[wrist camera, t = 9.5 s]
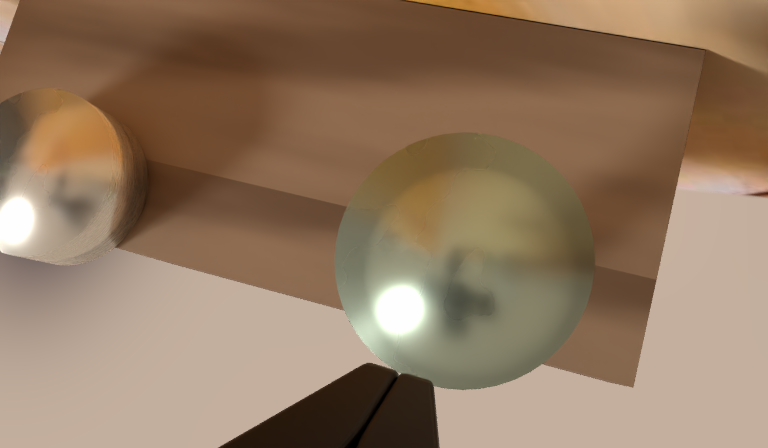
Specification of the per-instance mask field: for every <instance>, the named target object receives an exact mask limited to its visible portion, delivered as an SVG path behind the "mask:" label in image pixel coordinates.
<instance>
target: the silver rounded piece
mask: <svg viewBox="0 0 768 448" xmlns="http://www.w3.org/2000/svg"><path fill="white" fill-rule="evenodd" d="M147 189H148V166H147V161H146V157H145V154H144V151H143V149H142V146H141V144H140V143H139V141H138V139H137V137H136V136H135V135H134V134H133V132H132V131H131V130H130V129H129V128H128V127H127V126H126V125H124V124H123V123H122V122H120V121H119V120H117V119H116V118H114V117H112V116H111V115H109V114H107V113H106V112H104V111H102V110H101V109H99V108H97V107H96V106H94V105H93V104H91V103H89V102H88V101H86V100H84V99H83V98H81V97H79V96H77V95H75V94H73V93H71V92H68V91H64V90H60V89H53V88H41V89H33V90H29V91H25V92H22V93H19V94H17V95H15V96H12V97H10V98H9V99H7V100H5V101H3V102H2V103H1V104H0V252H2V253H5V254H9V255H14V256H19V257H24V258H28V259H33V260H37V261H42V262H47V263H52V264H57V265H77V264H82V263H86V262H89V261H92V260H94V259H97V258H99V257H101V256H102V255H104V254H106V253H108V252H109V251H110V250H112V249H113V248H115V247H116V246H117V245H118V244H119V243H120V242H121V241H122V240H123V239H124V238H125V237H126V236H127V235H128V233H129V232H130V231H131V229H132V228H133V226H134V225H135V223H136V222H137V220H138V218H139V216H140V214H141V211H142V209H143V206H144V203H145V199H146V196H147Z"/></svg>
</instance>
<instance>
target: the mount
mask: <svg viewBox="0 0 768 448" xmlns="http://www.w3.org/2000/svg"><path fill="white" fill-rule="evenodd" d="M705 52H706V50H700V49H694V48H688V47H682V46H675V45H669V44H663V43H657V42H651V41H645V40H639V39H633V38H627V37H621V36H614V35H608V34H602V33H596V32H590V31H584V30H578V29H572V28H566V27H559V26H553V25H547V24H541V23H535V22H529V21H523V20H517V19H511V18H505V17H498V16H492V15H486V14H480V13H474V12H468V11H462V10H456V9H450V8H443V7H437V6H431V5H425V4H419V3H413V2H407V1H401V0H20V2H19V5H18V7H17V10H16V13H15V16H14V18H13V21H12V24H11V27H10V30H9V32H8V35H7V38H6V41H5V43H4V46H3V49H2V52H1V54H0V104H1V103H2V102H3V101H5V100H7V99H9V98H10V97H12V96H15V95H17V94H19V93H22V92H25V91H29V90H33V89H41V88H53V89H60V90H64V91H68V92H71V93H73V94H75V95H77V96H79V97H81V98H83V99H84V100H86V101H88V102H89V103H91V104H93V105H94V106H96V107H97V108H99V109H101V110H102V111H104V112H106V113H107V114H109V115H111V116H112V117H114V118H116V119H117V120H119V121H120V122H122V123H123V124H124V125H126V126H127V127H128V128H129V129H130V130H131V131H132V132H133V134H134V135H135V136H136V137H137V139H138V141H139V143H140V144H141V146H142V149H143V151H144V154H145V157H146V161H147V166H148V189H147V196H146V199H145V203H144V206H143V209H142V211H141V214H140V216H139V218H138V220H137V222H136V223H135V225H134V226H133V228H132V229H131V231H130V232H129V233H128V235H127V236H126V237H125V238H124V239H123V240H122V241H121V242H120V243H119V244H118V245H117V246H116V247H115V248H119V249H122V250H126V251H129V252H133V253H136V254H140V255H144V256H147V257H150V258H154V259H157V260H161V261H165V262H168V263H171V264H175V265H178V266H182V267H186V268H189V269H193V270H197V271H201V272H204V273H208V274H212V275H215V276H219V277H223V278H226V279H230V280H234V281H237V282H241V283H245V284H248V285H253V286H256V287H260V288H263V289H267V290H271V291H274V292H278V293H282V294H286V295H289V296H293V297H297V298H300V299H304V300H307V301H311V302H315V303H319V304H322V305H326V306H330V307H333V308H337V309H341V310H344V309H343V306H342V303H341V300H340V296H339V293H338V289H337V283H336V277H335V260H334V259H335V247H336V240H337V235H338V231H339V226H340V224H341V221H342V218H343V215H344V212H345V210H346V208H347V206H348V204H349V202H350V200H351V198H352V196H353V195H354V193H355V192H356V190H357V189H358V187H359V186H360V184H361V183H362V182H363V181H364V180H365V179H366V177H367V176H368V175H369V174H370V173H371V172H372V171H373V170H374V169H375V168H376V167H377V166H378V165H379V164H381V163H382V162H383V161H384V160H385V159H387V158H388V157H390V156H391V155H393V154H394V153H396V152H397V151H399V150H401V149H403V148H405V147H406V146H408V145H410V144H413V143H415V142H418V141H421V140H423V139H426V138H430V137H434V136H438V135H442V134H450V133H481V134H488V135H493V136H497V137H501V138H504V139H508V140H510V141H513V142H515V143H518V144H520V145H523V146H524V147H526V148H528V149H530V150H531V151H533V152H535V153H537V154H538V155H539V156H541V157H542V158H543V159H545V160H546V161H547V162H549V163H550V164H551V165H552V166H553V167H554V168H555V169H556V170H557V171H558V172H559V173H560V174H561V175H562V176H563V177H564V178H565V179H566V181H567V182H568V183H569V185H570V186H571V187H572V188H573V190H574V192H575V193H576V195H577V197H578V198H579V200H580V202H581V204H582V206H583V208H584V211H585V213H586V216H587V218H588V221H589V225H590V228H591V232H592V236H593V244H594V252H595V268H594V277H593V284H592V289H591V293H590V296H589V299H588V303H587V306H586V308H585V310H584V312H583V315H582V317H581V319H580V321H579V323H578V324H577V326H576V328H575V329H574V331H573V332H572V334H571V335H570V337H569V338H568V339H567V340H566V342H565V343H564V344H563V345H562V346H561V347H560V349H559V350H558V351H557V352H556V353H554V354H553V355H552V356H551V357H550V358H549V359H548V360H547V361H545V362H544V363H543V364H544V365H547V366H551V367H555V368H558V369H562V370H566V371H570V372H573V373H577V374H581V375H584V376H588V377H592V378H595V379H599V380H603V381H606V382H610V383H615V384H619V385H624V386H629V387H633V386H634V382H635V377H636V372H637V367H638V363H639V358H640V354H641V349H642V344H643V340H644V335H645V330H646V326H647V321H648V316H649V312H650V307H651V303H652V298H653V293H654V289H655V284H656V279H657V275H658V270H659V265H660V261H661V255H662V251H663V247H664V242H665V237H666V233H667V228H668V224H669V219H670V214H671V209H672V205H673V200H674V196H675V191H676V186H677V182H678V177H679V172H680V168H681V163H682V158H683V154H684V149H685V145H686V140H687V135H688V131H689V126H690V121H691V117H692V112H693V107H694V103H695V98H696V93H697V89H698V84H699V79H700V75H701V70H702V66H703V61H704V56H705Z"/></svg>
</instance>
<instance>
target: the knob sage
mask: <svg viewBox="0 0 768 448" xmlns="http://www.w3.org/2000/svg"><path fill="white" fill-rule="evenodd" d="M334 260H335V277H336V283H337V289H338V293H339V296H340V300H341V303H342V306H343V309H344V311H345V312H346V315H347V317H348V319H349V322H350V323H351V325H352V327H353V328H354V330H355V331H356V333H357V334H358V336H359V337H360V339H361V340H362V341H363V342H364V343H365V344H366V346H367V347H368V348H369V349H370V350H371V351H372V352H373V353H374V354H375V355H376V356H377V357H378V358H379V359H380V360H382V361H383V362H384V363H386V364H387V365H389V366H391V368H393V369H394V370H396V371H397V372H399V373H401V374H402V373H408V374H411V375H414V376H418V377H421V378H425V379H428V380H430V381H431V382H432V383H433V386H437V387H441V388H447V389H460V390H466V389H481V388H486V387H492V386H497V385H500V384H503V383H506V382H509V381H512V380H515V379H517V378H519V377H521V376H523V375H525V374H527V373H529V372H531V371H532V370H534V369H535V368H537V367H538V366H540V365H541V364H543V363H544V362H545V361H547V360H548V359H549V358H550V357H551V356H552V355H553V354H554V353H556V352H557V351H558V350H559V349H560V347H561V346H562V345H563V344H564V343H565V342H566V340H567V339H568V338H569V337H570V335H571V334H572V332H573V331H574V329H575V328H576V326H577V324H578V323H579V321H580V319H581V317H582V315H583V312H584V310H585V308H586V306H587V303H588V299H589V296H590V293H591V289H592V284H593V277H594V268H595V252H594V244H593V236H592V232H591V228H590V225H589V221H588V218H587V216H586V213H585V211H584V208H583V206H582V204H581V202H580V200H579V198H578V197H577V195H576V193H575V192H574V190H573V188H572V187H571V186H570V185H569V183H568V182H567V181H566V179H565V178H564V177H563V176H562V175H561V174H560V173H559V172H558V171H557V170H556V169H555V168H554V167H553V166H552V165H551V164H550V163H549V162H547V161H546V160H545V159H543V158H542V157H541V156H539V155H538V154H537V153H535V152H533V151H531V150H530V149H528V148H526V147H524V146H523V145H520V144H518V143H515V142H513V141H510V140H508V139H504V138H501V137H497V136H493V135H488V134H481V133H450V134H442V135H438V136H434V137H430V138H426V139H423V140H421V141H418V142H415V143H413V144H410V145H408V146H406V147H405V148H403V149H401V150H399V151H397V152H396V153H394V154H393V155H391V156H390V157H388V158H387V159H385V160H384V161H383V162H382V163H381V164H379V165H378V166H377V167H376V168H375V169H374V170H373V171H372V172H371V173H370V174H369V175H368V176H367V177H366V179H365V180H364V181H363V182H362V183H361V184H360V186H359V187H358V189H357V190H356V192H355V193H354V195H353V196H352V198H351V200H350V202H349V204H348V206H347V208H346V210H345V212H344V215H343V218H342V221H341V224H340V226H339V231H338V235H337V240H336V247H335V259H334Z"/></svg>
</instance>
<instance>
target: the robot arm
mask: <svg viewBox="0 0 768 448" xmlns="http://www.w3.org/2000/svg"><path fill="white" fill-rule="evenodd" d="M219 448H440V447H439V437H438V427H437V416H436V407H435V395H434V387H433V383H432V382H431V381H430V380H428V379H425V378H421V377H418V376H414V375H411V374H408V373H402V374H400V375H398V373H397V371H396V370H394V369H390V368H387V367H383V366H380V365H376V364H373V363H366V364H363V365H362V366H360V367H358V368H356V369H354V370H353V371H351V372H349V373H347V374H346V375H344V376H342V377H340V378H339V379H337V380H335V381H333V382H332V383H330V384H328V385H327V386H325V387H323V388H321V389H320V390H318V391H316V392H314V393H313V394H311V395H309V396H307V397H306V398H304V399H302V400H300V401H299V402H297V403H295V404H293V405H292V406H290V407H288V408H286V409H285V410H283V411H281V412H279V413H278V414H276V415H275V416H273V417H271V418H269V419H267V420H266V421H264V422H262V423H260V424H259V425H257V426H255V427H253V428H252V429H250V430H248V431H246V432H245V433H243V434H241V435H239V436H238V437H236V438H234V439H233V440H231V441H229V442H227V443H226V444H224V445H222V446H220V447H219Z"/></svg>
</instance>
